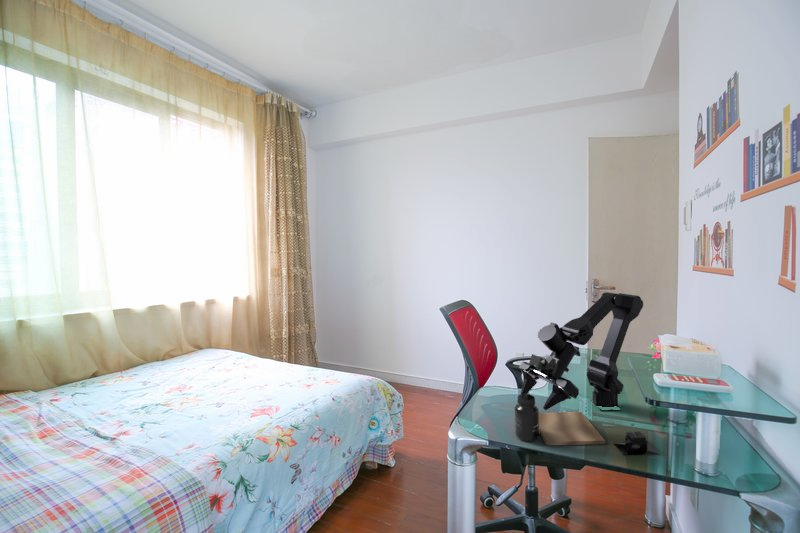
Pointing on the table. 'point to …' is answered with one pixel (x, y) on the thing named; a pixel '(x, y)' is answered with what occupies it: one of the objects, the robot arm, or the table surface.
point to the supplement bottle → (526, 418)
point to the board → (567, 429)
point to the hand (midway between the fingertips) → (532, 402)
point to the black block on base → (635, 445)
